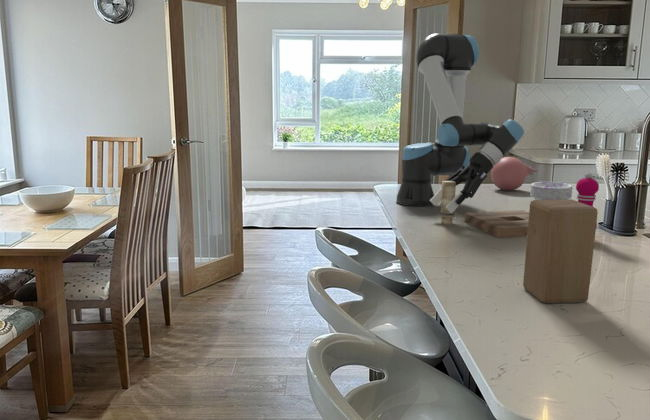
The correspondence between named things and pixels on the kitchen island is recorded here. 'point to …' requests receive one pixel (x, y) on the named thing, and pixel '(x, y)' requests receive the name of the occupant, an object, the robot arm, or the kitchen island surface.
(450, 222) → the beech peg
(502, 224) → the walnut board
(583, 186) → the pepper mill
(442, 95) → the robot arm
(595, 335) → the kitchen island surface
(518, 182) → the balloon
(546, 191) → the paper bowls
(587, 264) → the wooden block
